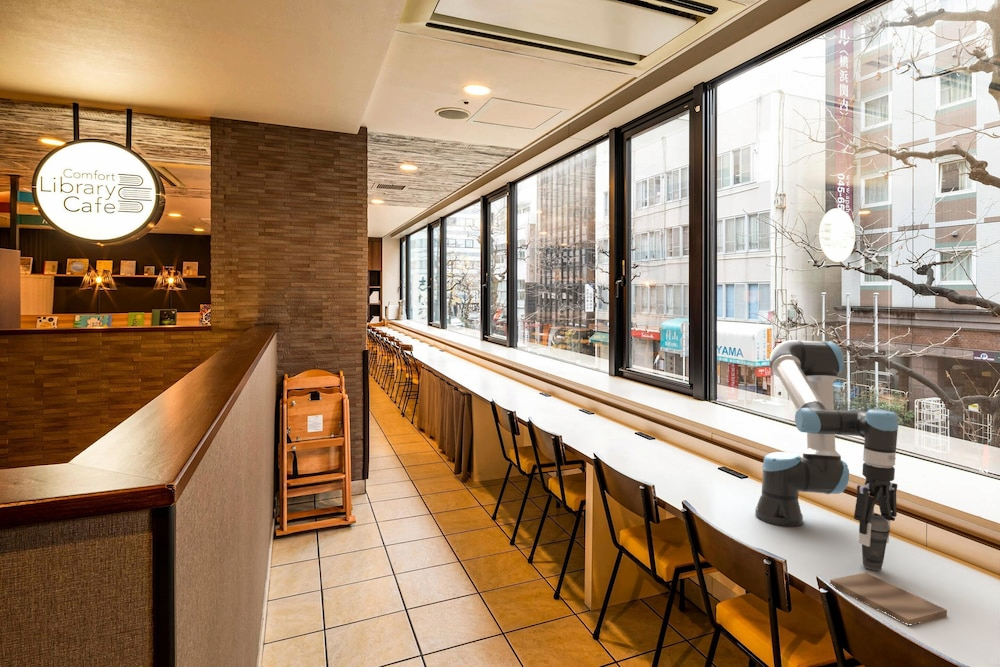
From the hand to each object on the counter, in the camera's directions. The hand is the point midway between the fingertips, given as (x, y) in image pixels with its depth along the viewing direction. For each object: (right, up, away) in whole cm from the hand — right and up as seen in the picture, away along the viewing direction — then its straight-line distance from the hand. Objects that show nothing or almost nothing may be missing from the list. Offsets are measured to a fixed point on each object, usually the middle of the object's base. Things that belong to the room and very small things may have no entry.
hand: (873, 542), depth 157 cm
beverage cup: (0, -7, 0) cm, 7 cm away
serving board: (-9, -8, -17) cm, 21 cm away
